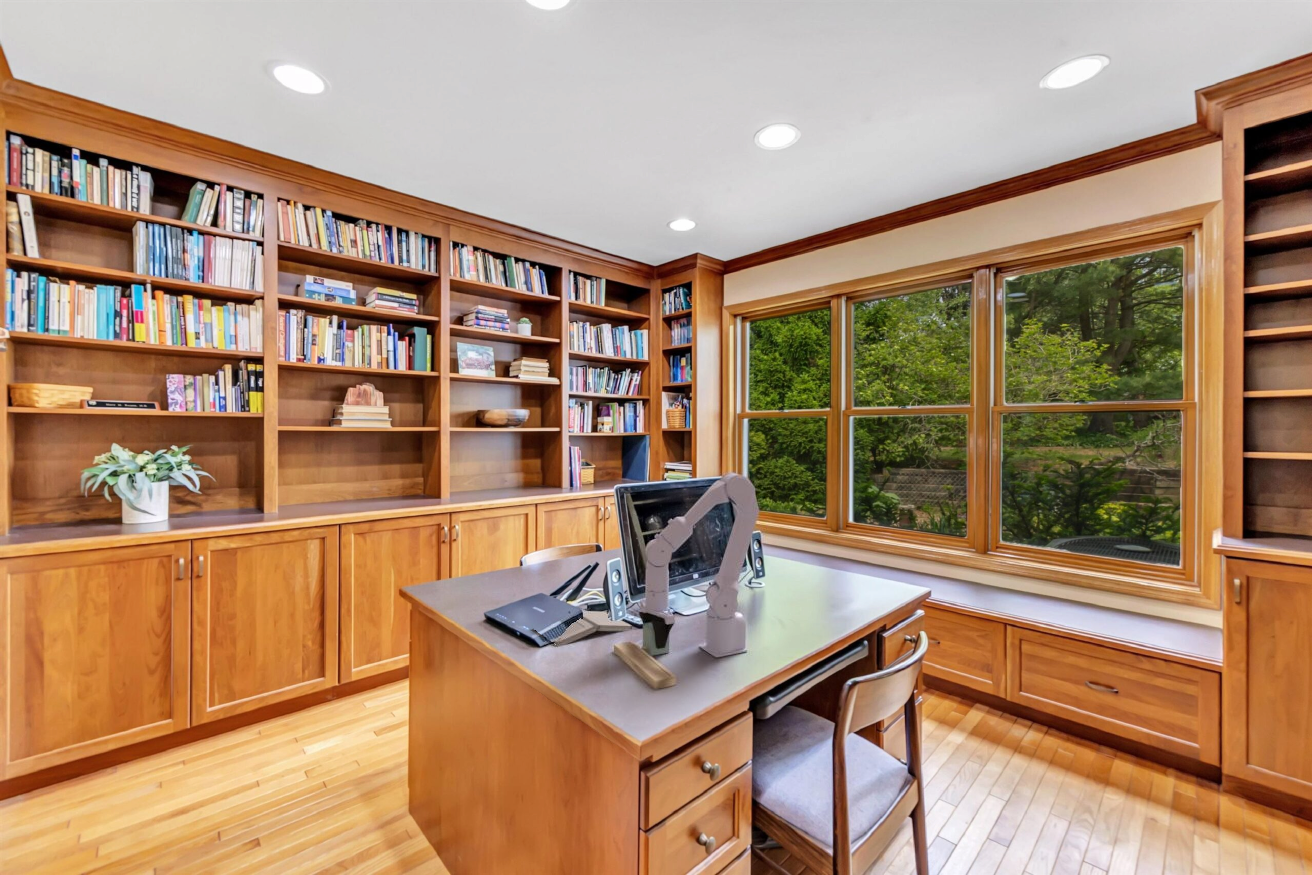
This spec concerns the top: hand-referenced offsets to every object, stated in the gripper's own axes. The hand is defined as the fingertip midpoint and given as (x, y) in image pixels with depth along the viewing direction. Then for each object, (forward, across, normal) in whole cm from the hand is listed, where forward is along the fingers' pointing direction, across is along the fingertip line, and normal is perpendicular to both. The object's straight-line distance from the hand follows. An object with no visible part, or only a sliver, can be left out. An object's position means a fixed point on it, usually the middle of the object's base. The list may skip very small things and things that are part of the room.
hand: (655, 644), depth 136 cm
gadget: (+3, -22, -11) cm, 25 cm away
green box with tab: (+2, 0, 0) cm, 2 cm away
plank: (+2, +7, -7) cm, 10 cm away
